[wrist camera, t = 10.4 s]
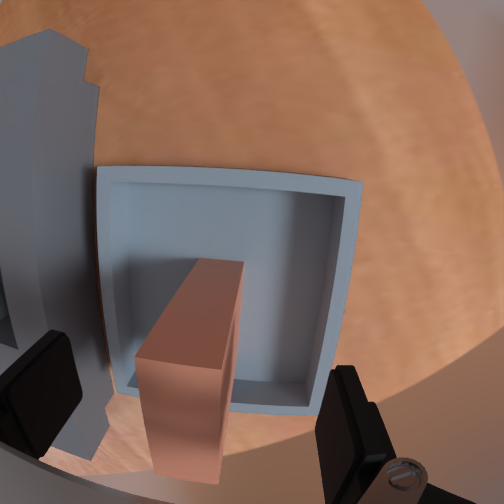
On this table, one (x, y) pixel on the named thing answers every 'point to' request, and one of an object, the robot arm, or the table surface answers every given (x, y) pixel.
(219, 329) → the terracotta upright block
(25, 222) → the dispenser
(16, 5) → the table surface
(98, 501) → the robot arm
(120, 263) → the tray
